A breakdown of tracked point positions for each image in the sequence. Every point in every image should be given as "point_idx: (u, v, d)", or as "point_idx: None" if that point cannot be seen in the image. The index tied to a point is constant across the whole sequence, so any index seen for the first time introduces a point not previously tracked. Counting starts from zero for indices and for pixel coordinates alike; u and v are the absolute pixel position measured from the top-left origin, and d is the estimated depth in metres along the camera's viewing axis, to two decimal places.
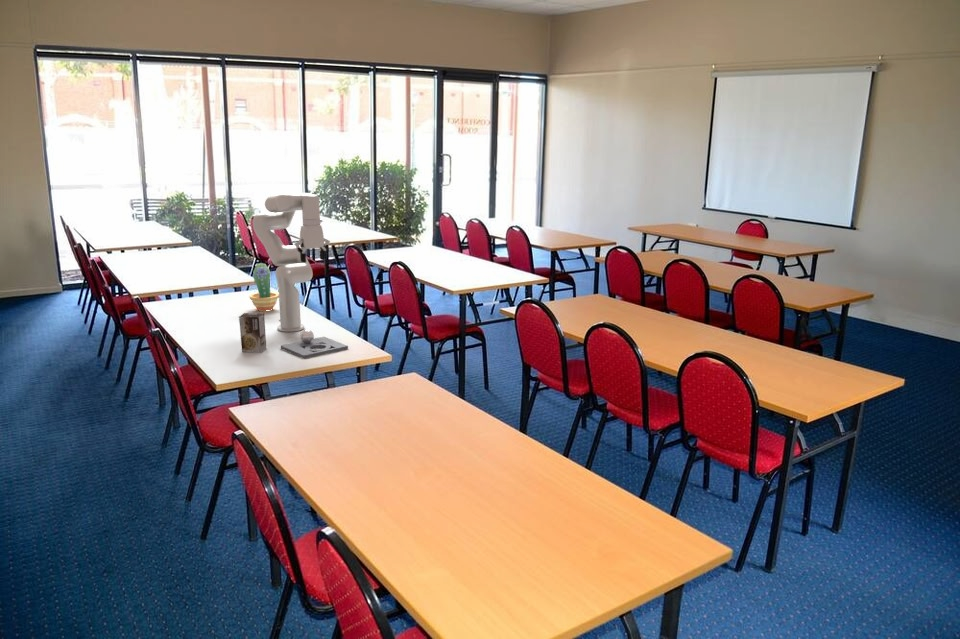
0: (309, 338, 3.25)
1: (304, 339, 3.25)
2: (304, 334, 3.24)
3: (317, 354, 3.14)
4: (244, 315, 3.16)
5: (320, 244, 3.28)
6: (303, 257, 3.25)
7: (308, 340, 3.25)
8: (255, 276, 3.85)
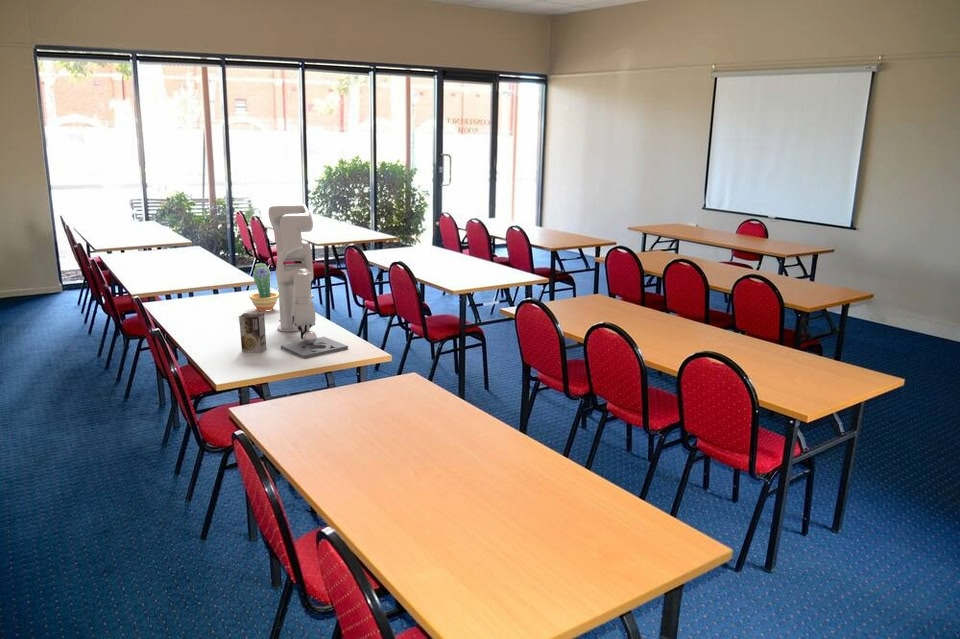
0: (311, 343, 3.24)
1: (306, 342, 3.24)
2: (308, 339, 3.22)
3: (317, 354, 3.14)
4: (244, 315, 3.16)
5: (311, 320, 3.27)
6: None
7: None
8: (255, 276, 3.85)
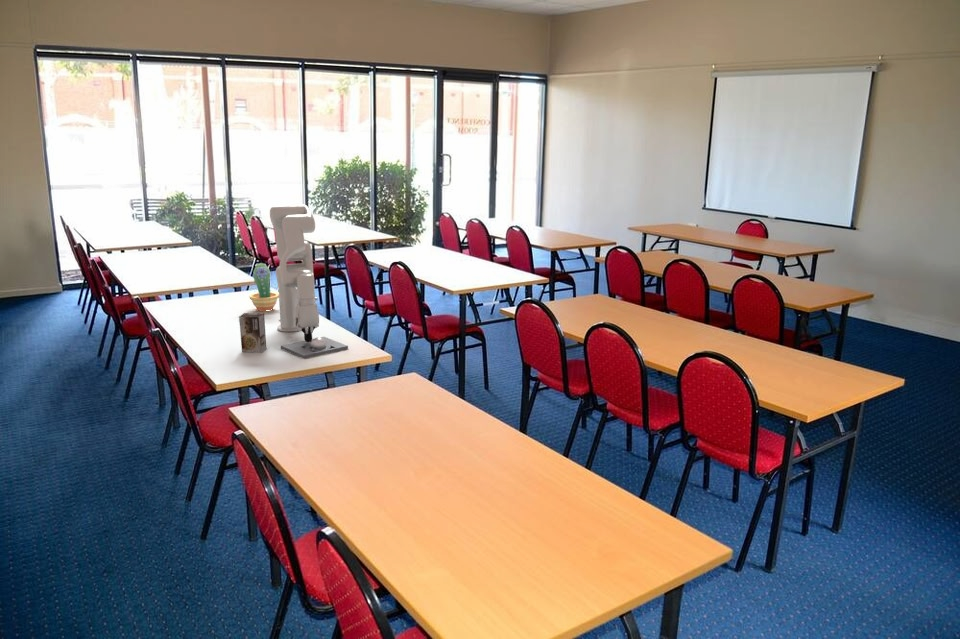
0: None
1: (312, 341, 3.20)
2: None
3: (317, 354, 3.14)
4: (244, 315, 3.16)
5: (315, 322, 3.25)
6: (307, 337, 3.25)
7: None
8: (255, 276, 3.85)
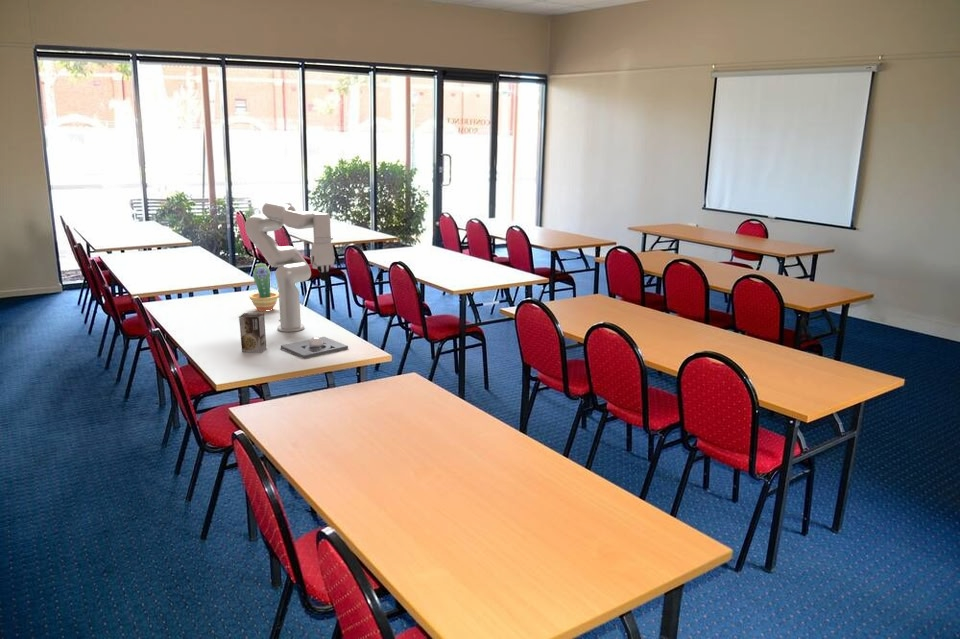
0: None
1: None
2: None
3: (317, 354, 3.14)
4: (244, 315, 3.16)
5: (330, 261, 3.34)
6: (323, 276, 3.34)
7: None
8: (255, 276, 3.85)
